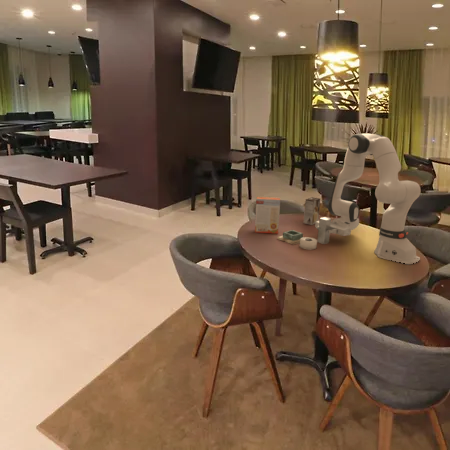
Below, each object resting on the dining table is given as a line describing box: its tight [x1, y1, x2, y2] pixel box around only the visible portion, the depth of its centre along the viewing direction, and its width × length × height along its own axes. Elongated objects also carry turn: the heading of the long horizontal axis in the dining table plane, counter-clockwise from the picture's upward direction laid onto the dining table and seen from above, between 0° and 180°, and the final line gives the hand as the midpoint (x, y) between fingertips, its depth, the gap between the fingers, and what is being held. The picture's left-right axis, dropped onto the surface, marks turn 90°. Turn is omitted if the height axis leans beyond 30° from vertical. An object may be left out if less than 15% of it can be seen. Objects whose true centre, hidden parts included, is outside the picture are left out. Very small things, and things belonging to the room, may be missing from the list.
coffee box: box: [303, 196, 321, 226], centre depth 275 cm, size 9×6×16 cm
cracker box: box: [254, 196, 281, 235], centre depth 251 cm, size 14×6×21 cm, turn 84°
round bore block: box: [299, 236, 318, 251], centre depth 230 cm, size 9×9×4 cm
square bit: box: [316, 216, 332, 245], centre depth 237 cm, size 4×4×14 cm
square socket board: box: [277, 229, 304, 246], centre depth 241 cm, size 12×12×4 cm
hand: (323, 230), depth 236 cm, fingers open, 6 cm apart
